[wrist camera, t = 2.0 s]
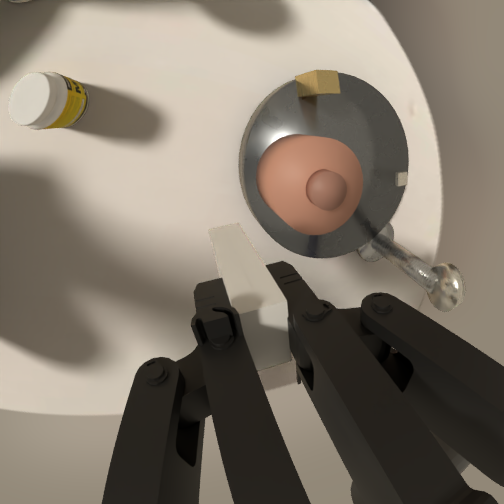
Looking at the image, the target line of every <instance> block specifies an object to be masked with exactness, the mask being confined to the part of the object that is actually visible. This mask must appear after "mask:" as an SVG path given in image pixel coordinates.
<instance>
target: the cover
mask: <svg viewBox="0 0 504 504" xmlns="http://www.w3.org/2000/svg"><path fill="white" fill-rule="evenodd" d="M256 184H257V189H258V191H259V194H260V196H261V198H262V200H263V201H264V202H265V204H266V205H267V206H268V207H269V208H270V209H272V210H273V211H274V212H275V213H276V214H277V215H278V216H279V217H280V218H282V219H283V220H284V221H285V222H286V223H287V224H288V225H289V226H290V227H292V228H293V229H295V230H296V231H298V232H301V233H303V234H307V235H322V234H326V233H329V232H332V231H334V230H336V229H337V228H339V227H340V226H342V225H343V224H344V223H345V222H346V221H347V220H348V219H349V218H350V217H351V216H352V214H353V213H354V211H355V210H356V208H357V206H358V204H359V201H360V198H361V195H362V189H363V174H362V169H361V166H360V163H359V161H358V159H357V157H356V156H355V154H354V153H353V152H352V150H351V149H350V148H349V147H347V146H346V145H345V144H343V143H342V142H340V141H338V140H335V139H332V138H326V137H319V136H311V135H303V134H291V135H286V136H284V137H281V138H279V139H277V140H276V141H274V142H273V143H272V144H271V145H269V146H268V148H267V149H266V150H265V151H264V153H263V154H262V156H261V158H260V160H259V163H258V166H257V171H256Z"/></svg>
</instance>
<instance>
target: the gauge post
mask: <svg viewBox="0 0 504 504" xmlns="http://www.w3.org/2000/svg"><path fill="white" fill-rule="evenodd" d="M393 238H394V231H393V227H392V225H391V224H390V223H389V222H388V223H387V224H386V226H385V227H384V228H383V229H382V230H381V231H380V232H379V233H378V235H376V236H375V237H374V238H373V239H372V240H371V241H369V242H368V243H366V244H365V245H363V246H362V247H360V248H358V249H357V251H358V253H359V255H360V256H361V257H362V258H363V259H365V260H366V261H369V262H374V261H377V260H379V259H381V258H382V257H384V258H386V259H387V260H388V261H390V262H391V263H392V264H394V265H395V266H396V267H398V268H399V269H400V270H402V271H403V272H404V273H405V274H407V275H408V276H409V277H410V278H412V279H413V280H414V281H416V282H417V283H418V284H419V285H421V286H422V287H423V288H424V289H426V291H427V294H428V297H429V299H430V301H431V303H432V304H433V305H434V306H435V307H436V308H437V309H438V310H440V311H444V312H447V311H450V310H452V309H453V308H455V307H456V306H458V305H459V304H460V303H461V302H462V301H463V299H464V296H465V282H464V279H463V276H462V274H461V273H460V271H459V270H458V269H457V268H456V267H455V266H454V265H452V264H450V263H442V264H440V265H438V266H435V267H433V268H432V267H431V266H429V265H428V264H426V263H425V262H424V261H422V260H421V259H419V258H418V257H416V256H415V255H413V254H412V253H411V252H409V251H408V250H406V249H405V248H403V247H402V246H400V245H399V244H397V243H395V242H394V241H393Z"/></svg>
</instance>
